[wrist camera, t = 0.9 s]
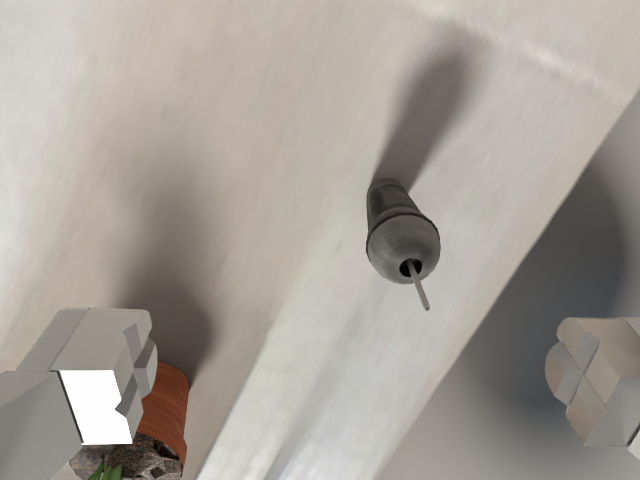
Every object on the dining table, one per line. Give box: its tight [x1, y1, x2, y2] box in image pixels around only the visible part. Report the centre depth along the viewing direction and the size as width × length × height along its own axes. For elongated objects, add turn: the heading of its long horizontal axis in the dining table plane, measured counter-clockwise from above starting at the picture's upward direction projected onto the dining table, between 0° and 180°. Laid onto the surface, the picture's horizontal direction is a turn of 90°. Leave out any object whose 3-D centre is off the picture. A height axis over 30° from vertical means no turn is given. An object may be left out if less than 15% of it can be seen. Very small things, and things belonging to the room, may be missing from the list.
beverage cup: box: [366, 179, 441, 311], centre depth 46 cm, size 7×7×20 cm
